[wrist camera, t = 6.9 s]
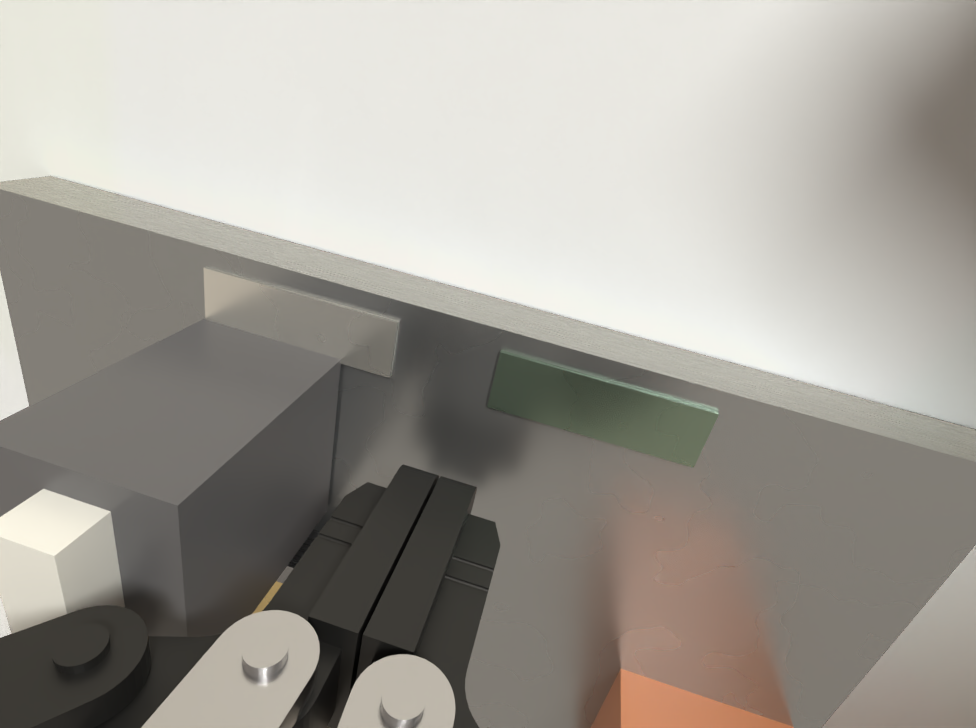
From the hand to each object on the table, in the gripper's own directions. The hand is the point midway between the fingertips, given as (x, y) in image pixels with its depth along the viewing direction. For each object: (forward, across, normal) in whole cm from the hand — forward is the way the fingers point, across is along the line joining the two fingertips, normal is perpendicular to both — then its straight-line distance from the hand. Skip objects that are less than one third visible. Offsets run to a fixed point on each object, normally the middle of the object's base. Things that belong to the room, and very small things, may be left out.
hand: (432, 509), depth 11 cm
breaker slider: (+1, +4, 0) cm, 4 cm away
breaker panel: (+2, 0, +3) cm, 4 cm away
